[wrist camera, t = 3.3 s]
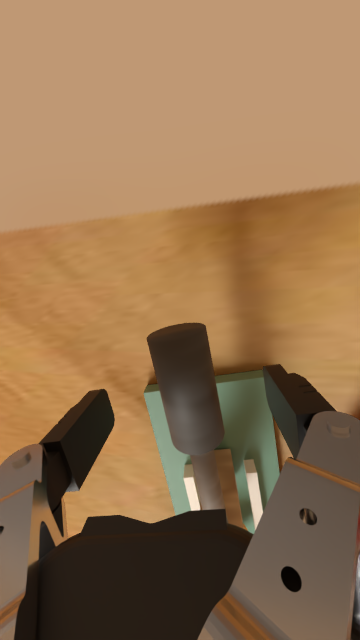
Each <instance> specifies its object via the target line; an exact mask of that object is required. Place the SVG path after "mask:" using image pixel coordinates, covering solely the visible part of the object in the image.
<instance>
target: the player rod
mask: <svg viewBox="0 0 360 640" xmlns="http://www.w3.org/2000/svg"><path fill="white" fill-rule="evenodd" d="M147 342H148V346H149V350H150V354H151V358H152V362H153V366H154V370H155V374H156V378H157V382H158V386H159V391H160V395H161V399H162V403H163V407H164V411H165V415H166V419H167V423H168V427H169V431H170V435H171V439H172V443H173V445H174V447H175V448H176V449H177V450H178V451H180V452H182V453H184V454H187V455H190V457H191V462H192V466H193V471H194V475H195V479H196V484H197V488H198V493H199V497H200V510H211V509H225V510H226V515H227V519H228V523H229V524H232V525H236V526H238V527H241V528H243V529H244V527H243V521H242V514H241V508H240V502H239V496H238V490H237V483H236V478H235V472H234V466H233V461H232V455H231V450H230V449H222V450H214V449H215V448H216V447H218V446H219V444H220V443H221V442H222V440H223V438H224V434H225V430H224V424H223V419H222V413H221V408H220V402H219V397H218V391H217V386H216V380H215V375H214V369H213V364H212V358H211V353H210V347H209V342H208V336H207V331H206V326H205V325H204V324H201V323H184V324H177V325H173V326H169V327H165V328H162V329H159V330H157V331H155V332H153V333H151V334H150V335H149V336H148V337H147Z"/></svg>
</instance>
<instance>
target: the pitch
mask: <svg viewBox="0 0 360 640" xmlns="http://www.w3.org/2000/svg"><path fill="white" fill-rule="evenodd" d="M215 380H216V386H217V391H218V397H219V402H220V408H221V413H222V419H223V424H224V430H225V434H224V438H223V440H222V442H221V443H220V444H219V446H218V447H216V448H215V449H214V450H222V449H230V450H231V455H232V461H233V466H234V472H235V478H236V483H237V490H238V496H239V502H240V508H241V514H242V521H243V524H244V525H245V526H246V528H247V530H248V531H249V532H251V533H253V534H254V532H255V530H256V528H257V525H258V523H259V521H260V519H261V516H262V514H263V512H264V509H265V507H266V505H267V502H268V500H269V498H270V496H271V493H272V491H273V489H274V486H275V484H276V482H277V480H278V477H279V475H280V473H279V465H278V457H277V449H276V441H275V433H274V425H273V417H272V413H271V411H270V408H269V406H268V402H267V398H266V391H265V383H264V376H263V370H256V371H248V372H241V373H233V374H226V375H219V376H215ZM144 397H145V400H146V404H147V408H148V412H149V416H150V419H151V423H152V427H153V431H154V435H155V438H156V442H157V446H158V450H159V454H160V457H161V461H162V465H163V469H164V473H165V476H166V480H167V484H168V488H169V492H170V495H171V499H172V503H173V507H174V511H175V514H176V515H179V514H182V513H185V512H187V511H194V510H200V497H199V493H198V488H197V484H196V479H195V475H194V471H193V466H192V462H191V457H190V455H187V454H184V453H182V452H180V451H178V450H177V449H176V448H175V447H174V445H173V443H172V439H171V435H170V431H169V427H168V423H167V419H166V415H165V411H164V407H163V403H162V399H161V395H160V391H159V386H158V384H152V385H147V387H146V389H145V391H144Z"/></svg>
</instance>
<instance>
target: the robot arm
mask: <svg viewBox="0 0 360 640" xmlns="http://www.w3.org/2000/svg"><path fill="white" fill-rule="evenodd" d="M263 376H264V383H265V391H266V398H267V402H268V406H269V408H270V411H271V413H272V415H273V417H274V419H275V421H276V423H277V425H278V427H279V429H280V431H281V433H282V435H283V437H284V439H285V441H286V443H287V445H288V447H289V449H290V451H291V453H292V455H293V457H294V458H292V457H289V458H288V459H287V460H286V462H285V464H284V466H283V468H282V470H281V473H280V475H279V477H278V480H277V482H276V484H275V486H274V489H273V491H272V493H271V496H270V498H269V500H268V502H267V505H266V507H265V509H264V512H263V514H262V516H261V519H260V521H259V523H258V525H257V528H256V530H255V532H254V534H253V533H251V532H249V531H247V530H245V529H243V528H241V527H238V526H236V525H232V524H229V523H228V519H227V515H226V510H225V509H211V510H194V511H187V512H185V513H182V514H179V515H176V516H173V517H170V518H168V519H165V520H162V521H159V522H156V523H146V522H142V521H139V520H135V519H132V518H128V517H125V516H121V515H112V516H96V517H88V518H87V520H86V523H85V525H84V527H83V529H82V532H81V533H79V534H76V535H74V536H72V537H70V538H68V533H67V521H66V510H65V502H64V499H63V495H64V494H65V492H70V491H79V490H80V488H81V486H82V484H83V482H84V480H85V479H86V477H87V475H88V473H89V471H90V469H91V467H92V466H93V464H94V462H95V460H96V458H97V456H98V455H99V453H100V451H101V449H102V447H103V445H104V444H105V442H106V440H107V438H108V436H109V434H110V432H111V431H112V429H113V426H114V421H115V419H114V413H113V410H112V407H111V403H110V400H109V397H108V394H107V391H106V390H105V389H100V390H93V391H89V392H88V393H87V394H86V395H85V396H84V397H83V398H82V400H81V401H80V402H79V403H78V404H76V405H75V406H74V407H72V408H71V409H70V410H69V411H68V412H67V413H66V414H65V415H64V417H63V418H62V419H61V420H60V421H59V422H58V424H56V425H55V426H54V427H53V428H52V430H51V431H50V432H49V433H48V434H47V435H46V436H45V437H44V438H43V439H42V440H41V442H40V443H39V444H32V445H29V446H26V447H24V448H22V449H20V450H18V451H16V452H15V453H13V454H12V455H11V456H9V457H8V458H7V459H6V460H5V461H4V462H3V463H2V464H1V466H0V640H360V420H358V419H357V418H355V417H353V416H351V415H348V414H345V413H342V412H337V411H336V410H335V409H334V408H333V407H332V406H331V405H330V404H329V403H328V402H327V401H326V400H325V399H324V397H323V396H322V395H321V394H320V393H319V392H317V390H316V389H315V388H314V387H313V386H311V384H310V383H309V382H308V381H307V380H306V379H305V378H304V377H302V376H300V375H298V374H296V373H290V374H288V373H287V372H286V371H285V370H284V368H283V367H282V366H281V365H280V364H276V365H269V366H263Z"/></svg>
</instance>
